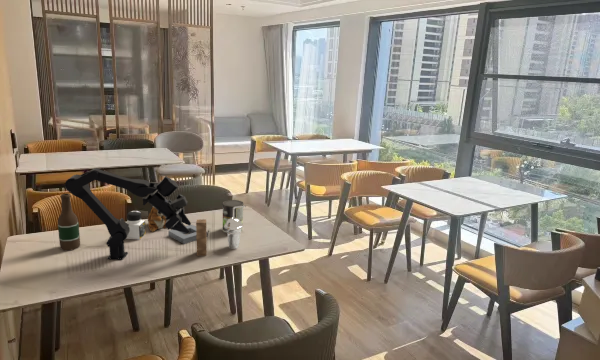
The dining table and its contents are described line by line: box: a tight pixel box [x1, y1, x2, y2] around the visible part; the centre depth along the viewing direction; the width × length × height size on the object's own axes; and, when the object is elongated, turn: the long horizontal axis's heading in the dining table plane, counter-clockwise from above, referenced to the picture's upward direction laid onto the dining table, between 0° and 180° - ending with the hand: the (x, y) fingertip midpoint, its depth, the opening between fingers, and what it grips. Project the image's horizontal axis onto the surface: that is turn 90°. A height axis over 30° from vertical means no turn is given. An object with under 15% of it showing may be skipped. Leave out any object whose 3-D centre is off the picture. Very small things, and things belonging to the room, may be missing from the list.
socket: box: [168, 224, 209, 245], centre depth 201 cm, size 13×13×2 cm
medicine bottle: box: [125, 210, 146, 241], centre depth 197 cm, size 7×7×12 cm
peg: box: [195, 218, 208, 257], centre depth 182 cm, size 4×4×15 cm
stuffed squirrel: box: [147, 206, 167, 233], centre depth 210 cm, size 10×14×13 cm
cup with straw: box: [224, 205, 246, 250], centre depth 189 cm, size 8×9×20 cm
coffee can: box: [221, 199, 245, 234], centre depth 210 cm, size 10×10×14 cm
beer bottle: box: [57, 193, 81, 251], centre depth 181 cm, size 8×8×24 cm
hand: (189, 228), depth 180 cm, fingers open, 9 cm apart
